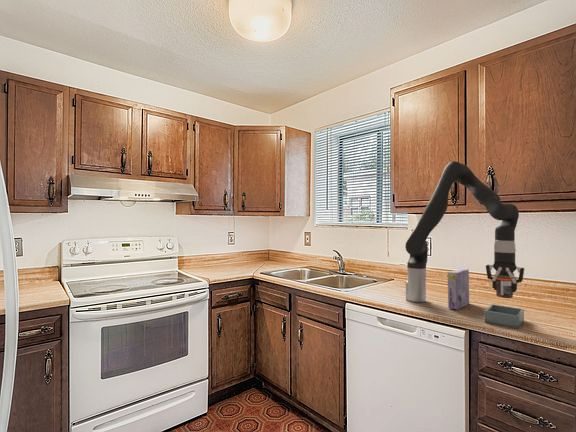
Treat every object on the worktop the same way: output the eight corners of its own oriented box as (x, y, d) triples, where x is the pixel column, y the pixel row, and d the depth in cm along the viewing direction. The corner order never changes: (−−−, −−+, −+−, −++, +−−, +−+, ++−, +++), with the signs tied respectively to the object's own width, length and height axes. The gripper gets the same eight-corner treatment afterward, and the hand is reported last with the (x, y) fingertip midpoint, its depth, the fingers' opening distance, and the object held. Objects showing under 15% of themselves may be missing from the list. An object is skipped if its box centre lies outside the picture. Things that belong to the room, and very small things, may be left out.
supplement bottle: (495, 294, 148) (495, 268, 148) (511, 295, 146) (511, 269, 146) (497, 297, 143) (497, 270, 143) (514, 299, 140) (514, 271, 140)
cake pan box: (460, 301, 178) (460, 267, 178) (470, 303, 175) (470, 268, 175) (446, 308, 165) (446, 272, 164) (457, 310, 161) (458, 273, 161)
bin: (484, 322, 143) (484, 310, 143) (491, 315, 153) (491, 304, 153) (519, 329, 135) (519, 316, 135) (523, 320, 146) (523, 309, 146)
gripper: (483, 250, 146) (483, 289, 146) (524, 253, 137) (524, 295, 137) (487, 249, 152) (487, 287, 152) (526, 251, 142) (526, 291, 142)
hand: (504, 290), depth 144 cm, fingers closed on supplement bottle, 6 cm apart
